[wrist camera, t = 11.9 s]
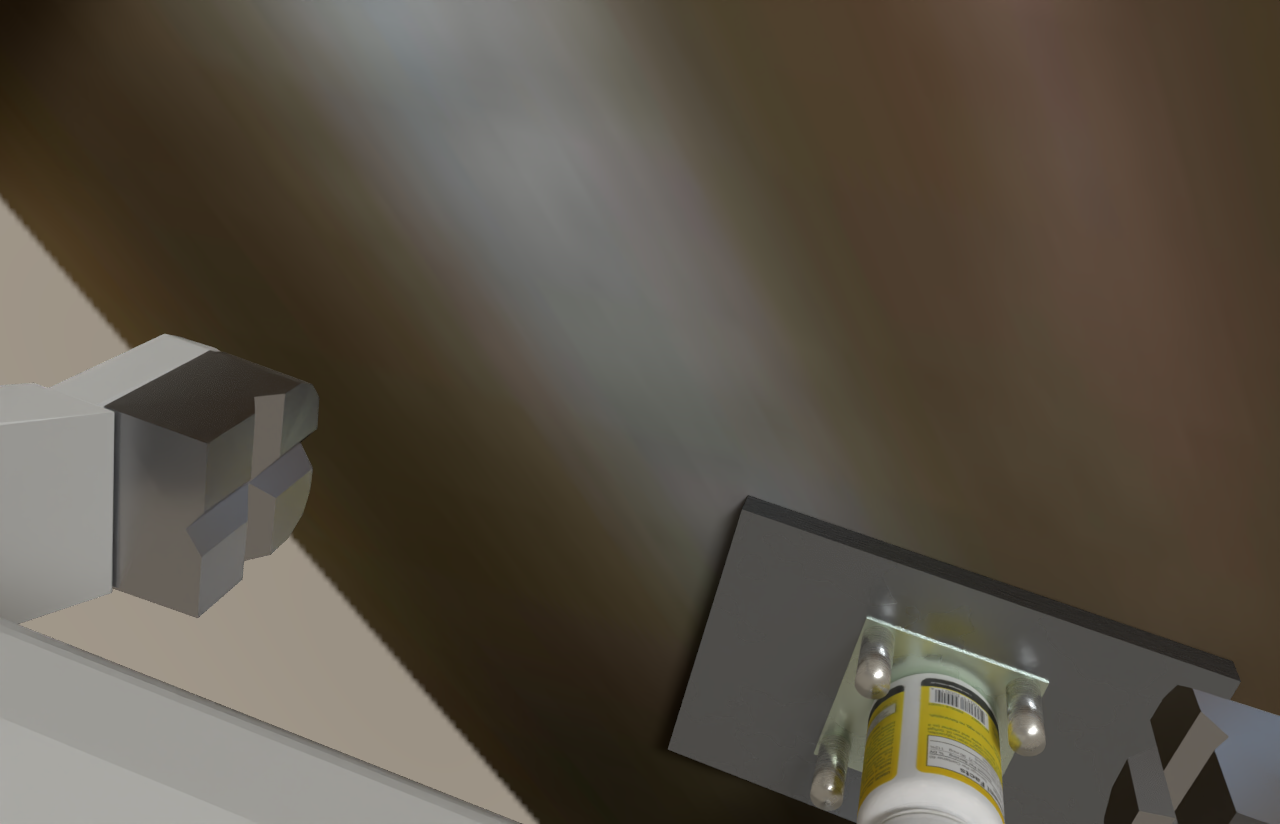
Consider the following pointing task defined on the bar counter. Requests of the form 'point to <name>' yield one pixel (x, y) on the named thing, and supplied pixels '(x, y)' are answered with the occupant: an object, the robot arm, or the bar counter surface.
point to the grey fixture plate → (915, 669)
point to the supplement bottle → (931, 756)
